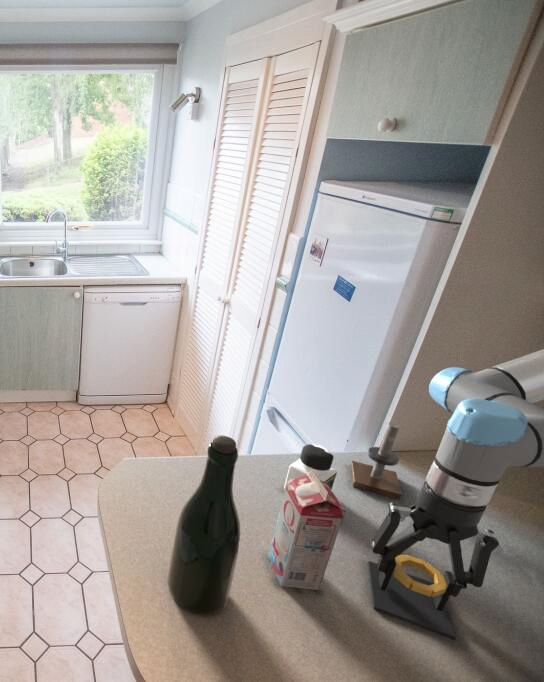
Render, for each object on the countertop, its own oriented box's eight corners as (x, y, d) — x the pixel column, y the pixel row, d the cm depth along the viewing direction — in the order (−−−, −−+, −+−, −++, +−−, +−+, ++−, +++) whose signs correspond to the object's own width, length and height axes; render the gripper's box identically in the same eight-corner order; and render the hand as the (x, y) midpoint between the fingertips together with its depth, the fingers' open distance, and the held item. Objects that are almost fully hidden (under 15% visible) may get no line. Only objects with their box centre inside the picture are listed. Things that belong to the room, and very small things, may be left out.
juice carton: (280, 585, 83) (307, 491, 75) (268, 556, 89) (291, 465, 81) (319, 590, 82) (350, 495, 74) (303, 559, 88) (331, 468, 80)
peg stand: (394, 476, 110) (415, 421, 104) (399, 499, 103) (422, 441, 97) (350, 465, 114) (367, 411, 108) (352, 486, 107) (371, 429, 101)
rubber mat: (440, 587, 82) (441, 585, 82) (455, 640, 74) (456, 637, 73) (367, 562, 88) (368, 560, 87) (373, 609, 79) (374, 606, 79)
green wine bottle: (221, 571, 86) (252, 424, 73) (233, 623, 77) (271, 465, 64) (164, 563, 88) (185, 418, 75) (169, 613, 78) (194, 457, 66)
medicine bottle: (314, 507, 101) (327, 464, 96) (283, 489, 106) (294, 447, 102) (330, 495, 105) (343, 452, 100) (299, 478, 110) (310, 437, 105)
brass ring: (438, 570, 80) (440, 565, 79) (448, 603, 74) (450, 598, 74) (388, 554, 83) (390, 549, 83) (393, 584, 77) (396, 579, 77)
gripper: (380, 485, 73) (343, 585, 82) (554, 532, 64) (491, 640, 73) (375, 459, 79) (341, 555, 88) (533, 499, 70) (477, 602, 79)
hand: (408, 593), depth 80 cm, fingers closed on brass ring, 7 cm apart
